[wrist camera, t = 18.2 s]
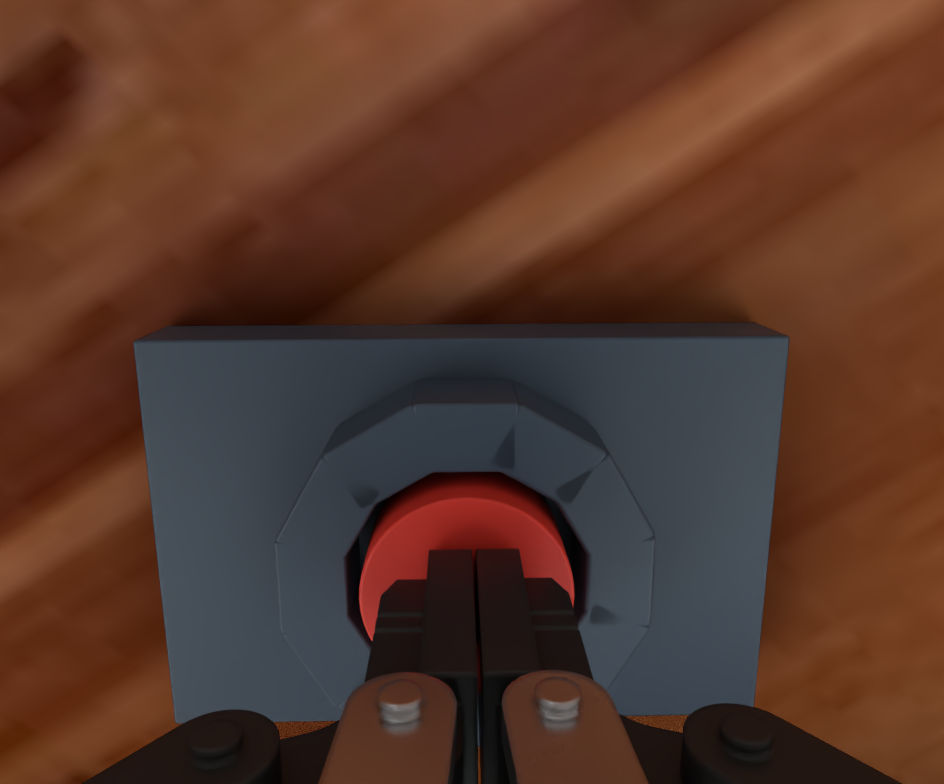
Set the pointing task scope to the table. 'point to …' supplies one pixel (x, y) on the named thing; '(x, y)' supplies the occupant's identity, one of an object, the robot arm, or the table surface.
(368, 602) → the button
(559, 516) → the button box
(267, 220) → the table surface
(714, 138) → the table surface
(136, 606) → the table surface
